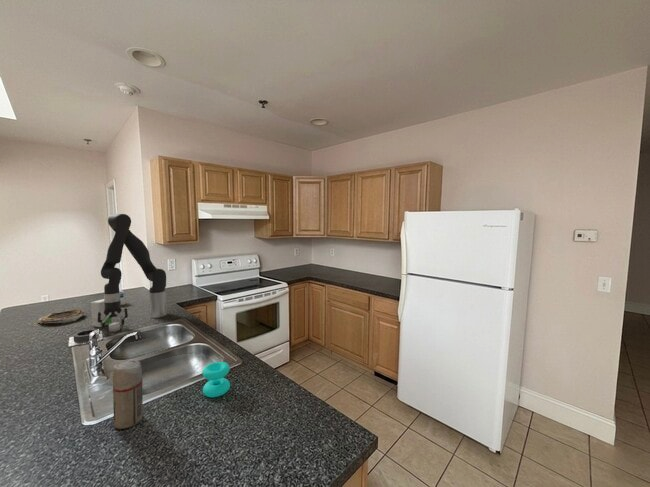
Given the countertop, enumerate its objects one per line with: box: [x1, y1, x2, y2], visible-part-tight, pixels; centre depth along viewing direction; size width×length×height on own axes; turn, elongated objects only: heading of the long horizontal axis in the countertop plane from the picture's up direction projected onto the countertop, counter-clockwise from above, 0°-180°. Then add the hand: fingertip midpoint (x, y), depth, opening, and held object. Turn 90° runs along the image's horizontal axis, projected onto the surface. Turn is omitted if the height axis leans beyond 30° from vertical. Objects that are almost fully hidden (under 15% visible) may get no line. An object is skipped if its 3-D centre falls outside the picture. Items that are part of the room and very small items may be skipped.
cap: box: [108, 321, 121, 333], centre depth 164 cm, size 5×5×4 cm
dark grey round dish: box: [68, 328, 104, 348], centre depth 152 cm, size 14×14×4 cm
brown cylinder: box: [112, 359, 144, 430], centre depth 90 cm, size 8×8×20 cm
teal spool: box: [201, 361, 231, 398], centre depth 107 cm, size 10×10×10 cm
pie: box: [32, 308, 85, 326], centre depth 179 cm, size 28×27×5 cm
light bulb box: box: [119, 289, 126, 306], centre depth 213 cm, size 11×7×11 cm, turn 58°
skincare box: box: [90, 298, 113, 328], centre depth 172 cm, size 8×7×16 cm
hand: (113, 326), depth 164 cm, fingers open, 8 cm apart
